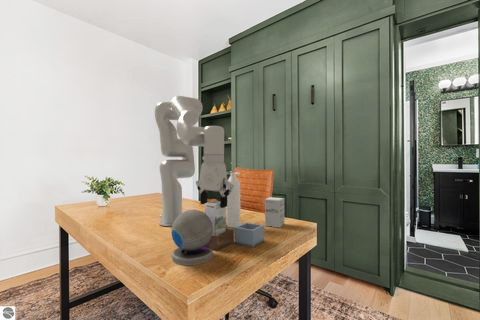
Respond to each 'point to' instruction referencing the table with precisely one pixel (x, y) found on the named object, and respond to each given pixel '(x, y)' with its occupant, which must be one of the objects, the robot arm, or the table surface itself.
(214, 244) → the walnut box
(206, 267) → the table surface
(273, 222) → the supplement box
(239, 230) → the blue-grey open box
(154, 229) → the table surface
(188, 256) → the webcam
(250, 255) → the table surface
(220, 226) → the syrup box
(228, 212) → the water bottle
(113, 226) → the table surface
